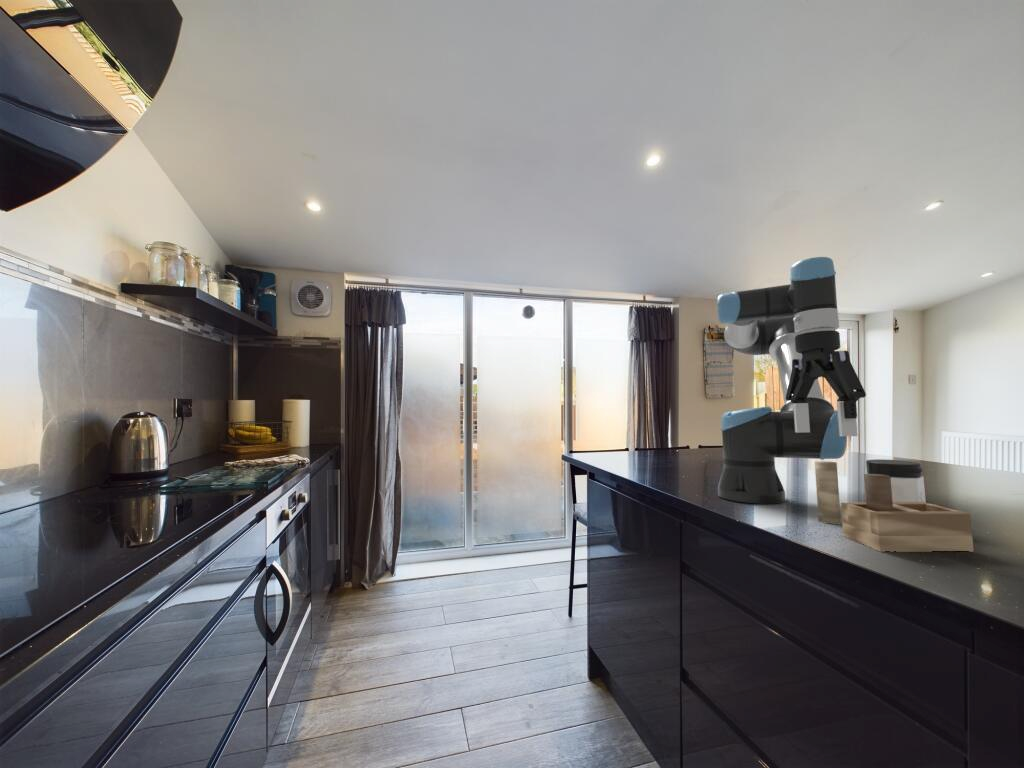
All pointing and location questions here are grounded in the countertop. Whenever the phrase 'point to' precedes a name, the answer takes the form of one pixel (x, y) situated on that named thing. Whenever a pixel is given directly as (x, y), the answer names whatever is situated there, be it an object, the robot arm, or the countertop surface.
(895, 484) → the jar
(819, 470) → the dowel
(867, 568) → the countertop surface
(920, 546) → the wooden divided box
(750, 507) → the countertop surface
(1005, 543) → the countertop surface
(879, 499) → the stub
